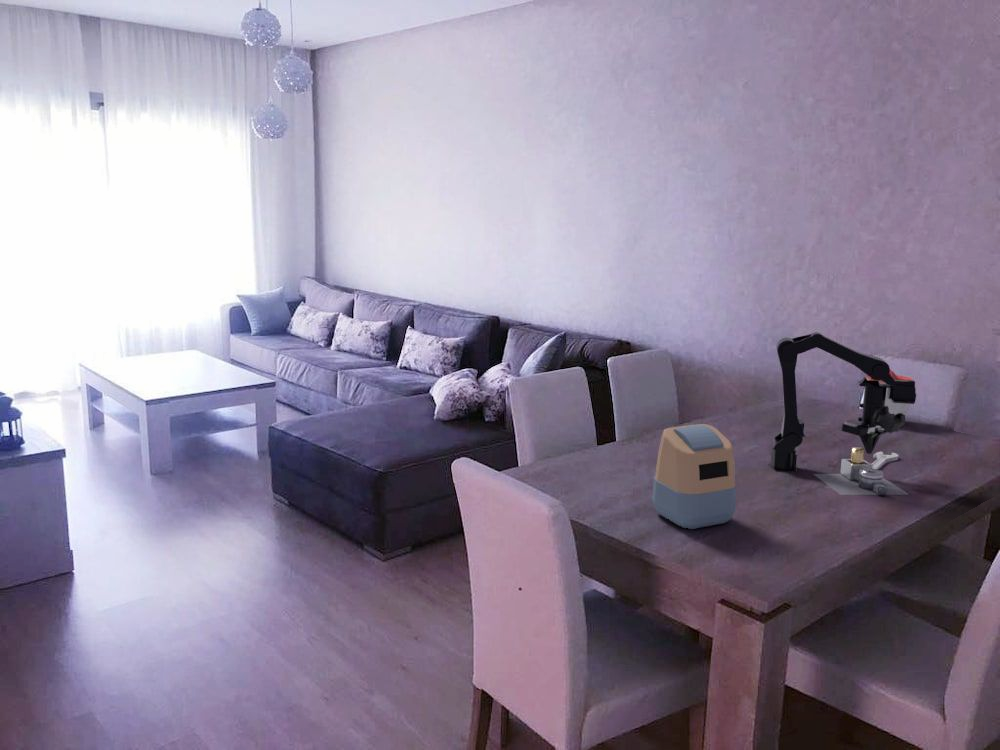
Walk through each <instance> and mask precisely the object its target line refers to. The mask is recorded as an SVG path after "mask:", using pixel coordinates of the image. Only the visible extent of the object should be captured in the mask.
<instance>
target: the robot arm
mask: <svg viewBox="0 0 1000 750" xmlns="http://www.w3.org/2000/svg"><path fill="white" fill-rule="evenodd" d="M775 349H776V352H777V353H776V354H777V357H778V360H779V364H780V369H781V380H782V381H781V382H782V398H783V399H782V400H783V402H782V403H783V417H782V424H781V431H780V432H779V434H777V435H776V436H774V437H773V440H772V441H773V445H774V446H773V447H772V446H771V450H770V451H771V452H770V463H768V466H769V467H770V468H771V469H772V470H773V471H774V472H797V469H796V468H797V462H798V454H796V453H797V450H796V448H797V447H799V446H800V445H801V444H802V443H803V440H804V439H803V438H806V435H805V432H804V429H805V422H804V419H803V418H801V419H799V417H798V403H797V385H796V383H797V382H796V368H797V361H798V355H799V354H803V353H806V352H808V351H811V350H813V349H820V350H821V351H824V352H825V353H829V354H830V355H832V356H834V357H837V358H839V359H840V360H842V361H845V362H847V363H849V364H851V365H852V366H855V367H856V368H858V369H859V370H860V372H862V373H864V374H866V376H867V375H868V376H870V377H871V378H872V379H874V380H867V378H866V376H863V377H862V379H860V380H859V381H857V384H858V385H859V387H864V391H863V402H862V403H859V408H861V409H862V411H861V416H859V417H858V418H857V420H858V421H856V420H848V421H844V422H843V423H842V424H841V431H842V432H844V433H848V434H851V435H855V436H859V438H860V441H861V442H862V444H863V445H862V446H863V447H864V448H863V449H864V451H865V452H866V454H868V455H870V454H872V453H873V452H874V450H875V447H876V444H878V441H879V439H880V438H881V436H883V435H885V434H887V433H889V434H892V433H894V432H897V433H898V432H899V431H900V430H901V429H902V427H905V425H906V418H905V415H904V414H902V413H898V414H896V415H895V414H891V413H889V408H888V406H885V399H886V389H887V388H888V392H887V397H888V399H891V402H892V403H904V404H910V405H914V404H915V403H916V399H917V393H916V381H915V380H914V379H913V380H894V378H893V377H892V376H891V375H890V370H891V368H890V365H889V364H888V363H887V362H886V360H884V359H883V358H881V357H878V356H875V355H873V354H867V353H863V352H860V351H857V350H855V349H852V348H850V347H849V346H846V345H844V344H843V343H840V342H838V341H836V340H834V339H831V338H830V337H828V336H826V335H823V334H822V333H820V332H818V331H816V332H815V331H814V332H812V333H810V334H806V335H800V336H796V337H793V338H790V337H782V338H781V339H779V340H778V341H777V343H776V348H775ZM878 380H882V381H883V382H885V383H886V384H881V383H879V381H878ZM894 415H895V416H894Z"/></svg>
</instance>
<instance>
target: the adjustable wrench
mask: <svg viewBox="0 0 1000 750" xmlns="http://www.w3.org/2000/svg"><path fill="white" fill-rule="evenodd" d="M873 459H875V460H874V461H873V462H872V463H871V464H872V465H873V469H878V470H880V469H881V468H882V467H883V466H884V465H885V464H886V463H889V462H894V461H898V460H899V454H898V453H896V452H891V454H884V452H883V451H878V452H875V453H873Z"/></svg>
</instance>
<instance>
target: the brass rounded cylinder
mask: <svg viewBox="0 0 1000 750" xmlns="http://www.w3.org/2000/svg"><path fill="white" fill-rule="evenodd" d="M864 451H865V448H863V447H859V446H852V447H851V455H850V459H851V463H852V464H863V459H864Z"/></svg>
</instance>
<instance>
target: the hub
mask: <svg viewBox="0 0 1000 750" xmlns="http://www.w3.org/2000/svg"><path fill="white" fill-rule="evenodd" d="M883 478H884V472H883V470H880V469H873V468H861V469H860V471H859V482H858V487H860V488H862V489H865V490H870V491H873V490H872V489H873V484H881V485H882V480H883Z"/></svg>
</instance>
